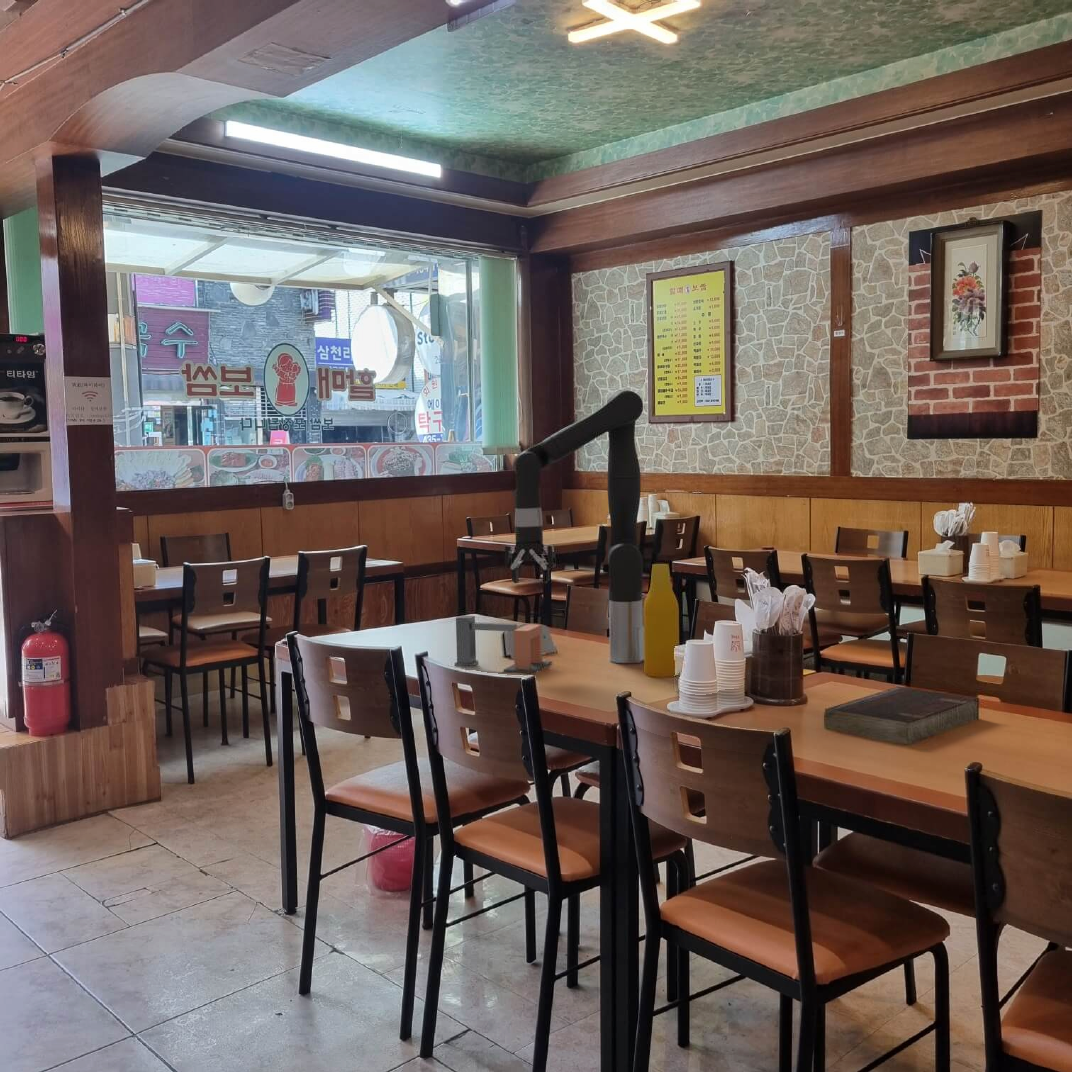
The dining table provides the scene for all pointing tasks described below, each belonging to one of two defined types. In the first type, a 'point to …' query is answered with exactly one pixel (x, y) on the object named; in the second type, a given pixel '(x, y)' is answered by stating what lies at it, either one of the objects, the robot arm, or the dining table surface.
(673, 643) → the beer bottle
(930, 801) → the dining table surface
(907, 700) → the hardback book
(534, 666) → the mat
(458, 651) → the bracket
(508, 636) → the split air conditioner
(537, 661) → the pink block
